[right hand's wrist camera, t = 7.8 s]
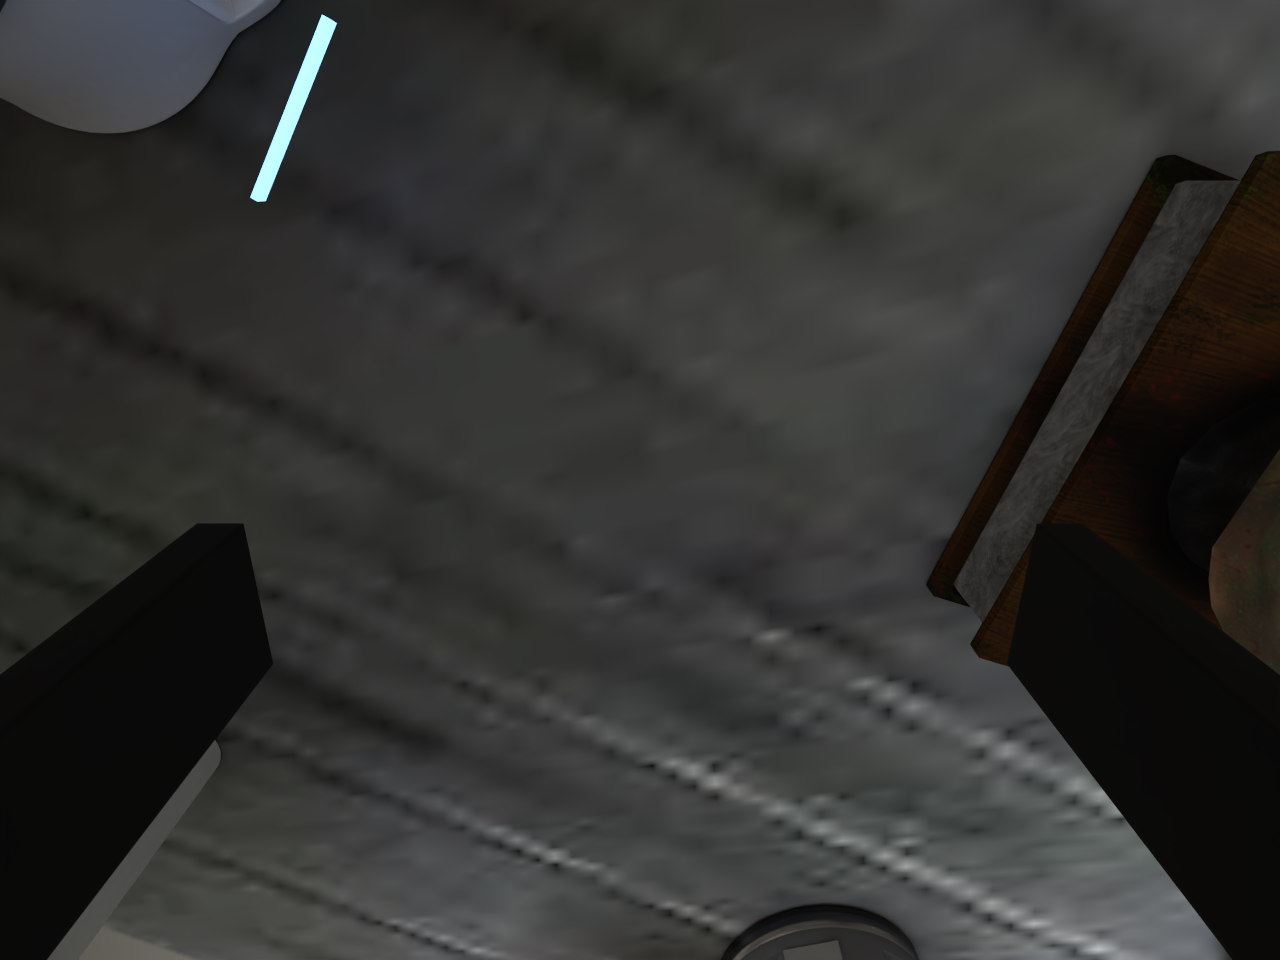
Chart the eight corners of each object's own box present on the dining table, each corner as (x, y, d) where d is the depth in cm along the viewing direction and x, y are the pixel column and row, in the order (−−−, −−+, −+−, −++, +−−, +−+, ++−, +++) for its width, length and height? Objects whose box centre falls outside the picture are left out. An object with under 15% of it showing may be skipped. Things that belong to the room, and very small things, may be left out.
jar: (146, 763, 49) (-76, 1023, 34) (158, 712, 48) (-67, 961, 33) (213, 784, 50) (26, 1048, 35) (228, 735, 49) (39, 988, 33)
